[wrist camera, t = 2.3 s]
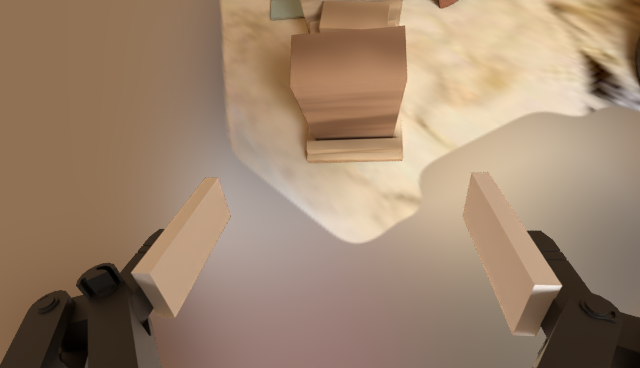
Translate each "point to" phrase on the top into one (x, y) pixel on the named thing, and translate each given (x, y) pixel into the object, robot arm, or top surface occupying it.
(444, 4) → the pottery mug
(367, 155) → the rack
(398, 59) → the brown rectangular block
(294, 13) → the felt mat
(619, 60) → the top surface
